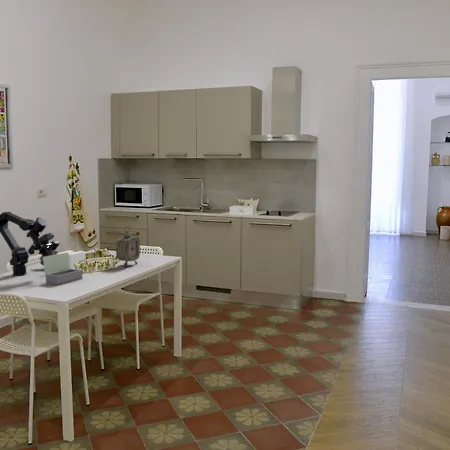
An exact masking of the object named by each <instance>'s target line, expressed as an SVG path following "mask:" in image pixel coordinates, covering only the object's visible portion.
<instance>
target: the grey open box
mask: <svg viewBox="0 0 450 450" xmlns="http://www.w3.org/2000/svg"><path fill="white" fill-rule="evenodd" d="M79 280H83V270H76V269H67V270H63V271H57V272H52V273H48V274H45V284H46V285H52V286H57V287H58V286H62V285H65V284H69V283H73V282H76V281H79Z"/></svg>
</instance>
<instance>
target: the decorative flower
mask: <svg viewBox="0 0 450 450" xmlns="http://www.w3.org/2000/svg"><path fill="white" fill-rule="evenodd" d="M57 253H60V252H59V251H57V250H56V249H55V250H52V255H56V254H57ZM43 257H46V256H44V255H41V256H40V257H39V261H40V262H39V263H40V265H42V266H43V267H44V263H43Z"/></svg>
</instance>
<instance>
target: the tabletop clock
mask: <svg viewBox="0 0 450 450" xmlns="http://www.w3.org/2000/svg"><path fill="white" fill-rule="evenodd" d="M127 228H129V230H126V229H127ZM123 230H124V233H125V234H123V237H120V238H119V239H117V240H116V242H115V252H116V253H115V256H116V259H117V258H118V259H119V261H122V262H123V261H124V264H123V265H124V266H125V267H126V268H129V266H130V265H129V264H128V263H129V262H134V263H135V265H137V264H138V261H136V260H138V259H139V258H140V255H141V253H140V252H141V245H140V239H139V237H137V236H136V237H135V236H132V234H131V231H132V228H131V226H130V225H128V226H125V227H124V229H123ZM118 259H117V260H118Z"/></svg>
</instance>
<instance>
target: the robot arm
mask: <svg viewBox="0 0 450 450" xmlns="http://www.w3.org/2000/svg"><path fill="white" fill-rule="evenodd" d="M9 222H11V223H13V224H15V225H18V227H19V229H21V230H22V231H23V232H26V231H27V232H26V238H30V239H31V240H32V244H31V245H30V246H29V248H28V250H27V249H26V247H23V246H22V247H21V246H20V245H19V243H18V242H17V240H16V238H15V237H14V235H13V234H12V232H11V231H10V228H9ZM47 226H48V221H47V220H46V219H44V218H42V217H40V216H39V217H37V218H36V219H35V220H33V219H30V218H28V219H27V218H23V217H21V216H19V215H17V214H15V213H13V212H11V211H3V212H2V213H1V214H0V234H1V236H2V237H3V238H2V239H4V241H5V243H6V245H8V248H9V249H10V251H11V258H10V260H9V265H10V266H12V274H11V275H12V276H25V275H26V274H27V266H26V264H28V262H29V258H30V257H29V255H30V256H31V255H34V254H35V251H39V252H38V255H41V256H42V255H44V256H51V255H52V250H55V251H56V250H57V248H58V247H59V246H60V244H61V242H60V241H59V240H54V238H55V234H54V233H53V232H52V231H51V232H49V233H45V234H43V235H42V233H43V232H44V230H45V229H46V227H47ZM51 240H52V241H51ZM50 241H51V242H50Z"/></svg>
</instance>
